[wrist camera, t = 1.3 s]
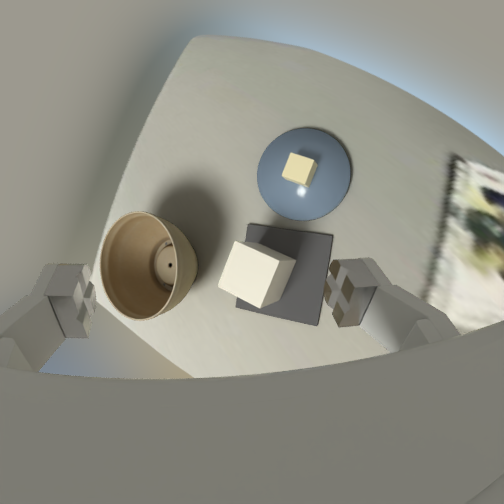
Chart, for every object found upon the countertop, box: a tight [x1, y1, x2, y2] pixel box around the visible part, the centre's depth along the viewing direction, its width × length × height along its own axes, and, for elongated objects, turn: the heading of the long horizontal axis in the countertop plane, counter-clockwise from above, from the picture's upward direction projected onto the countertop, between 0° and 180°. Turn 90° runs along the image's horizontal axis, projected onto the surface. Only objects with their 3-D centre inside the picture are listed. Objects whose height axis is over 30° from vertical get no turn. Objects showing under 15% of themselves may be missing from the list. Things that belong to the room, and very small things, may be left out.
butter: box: [282, 153, 318, 188], centre depth 43 cm, size 4×4×2 cm
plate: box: [257, 128, 351, 221], centre depth 44 cm, size 14×14×1 cm
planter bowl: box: [100, 211, 198, 321], centre depth 48 cm, size 16×16×11 cm
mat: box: [236, 224, 333, 326], centre depth 46 cm, size 13×13×1 cm
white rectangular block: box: [218, 241, 296, 308], centre depth 43 cm, size 6×6×8 cm
